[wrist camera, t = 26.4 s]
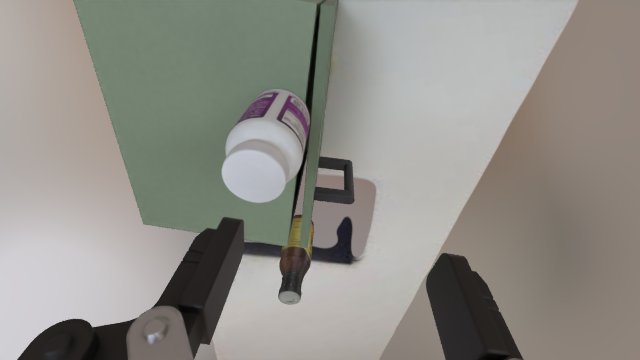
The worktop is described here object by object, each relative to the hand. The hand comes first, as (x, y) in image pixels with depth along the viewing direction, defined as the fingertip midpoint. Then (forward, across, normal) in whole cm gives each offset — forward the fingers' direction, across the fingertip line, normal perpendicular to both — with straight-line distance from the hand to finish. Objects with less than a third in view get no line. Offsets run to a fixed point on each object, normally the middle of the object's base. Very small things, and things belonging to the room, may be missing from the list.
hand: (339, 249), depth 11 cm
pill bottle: (+16, +5, +2) cm, 17 cm away
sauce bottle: (+40, +2, +38) cm, 55 cm away
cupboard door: (+39, -1, +6) cm, 40 cm away
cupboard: (+39, +12, +6) cm, 42 cm away
